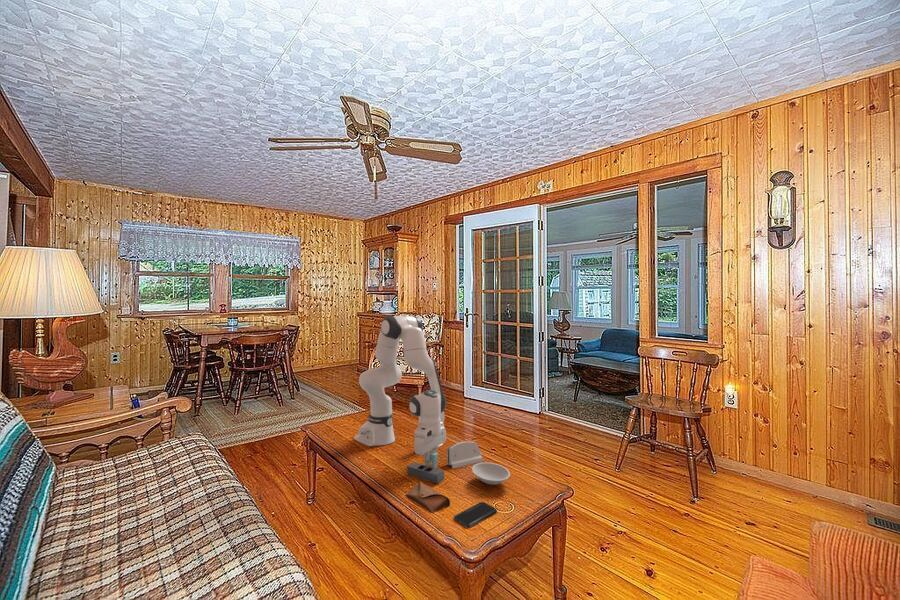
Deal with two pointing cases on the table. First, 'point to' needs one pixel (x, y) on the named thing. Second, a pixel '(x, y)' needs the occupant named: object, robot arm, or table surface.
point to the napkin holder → (463, 454)
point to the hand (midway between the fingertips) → (431, 457)
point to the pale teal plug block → (432, 459)
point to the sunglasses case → (428, 497)
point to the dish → (491, 473)
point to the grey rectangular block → (425, 472)
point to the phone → (475, 514)
